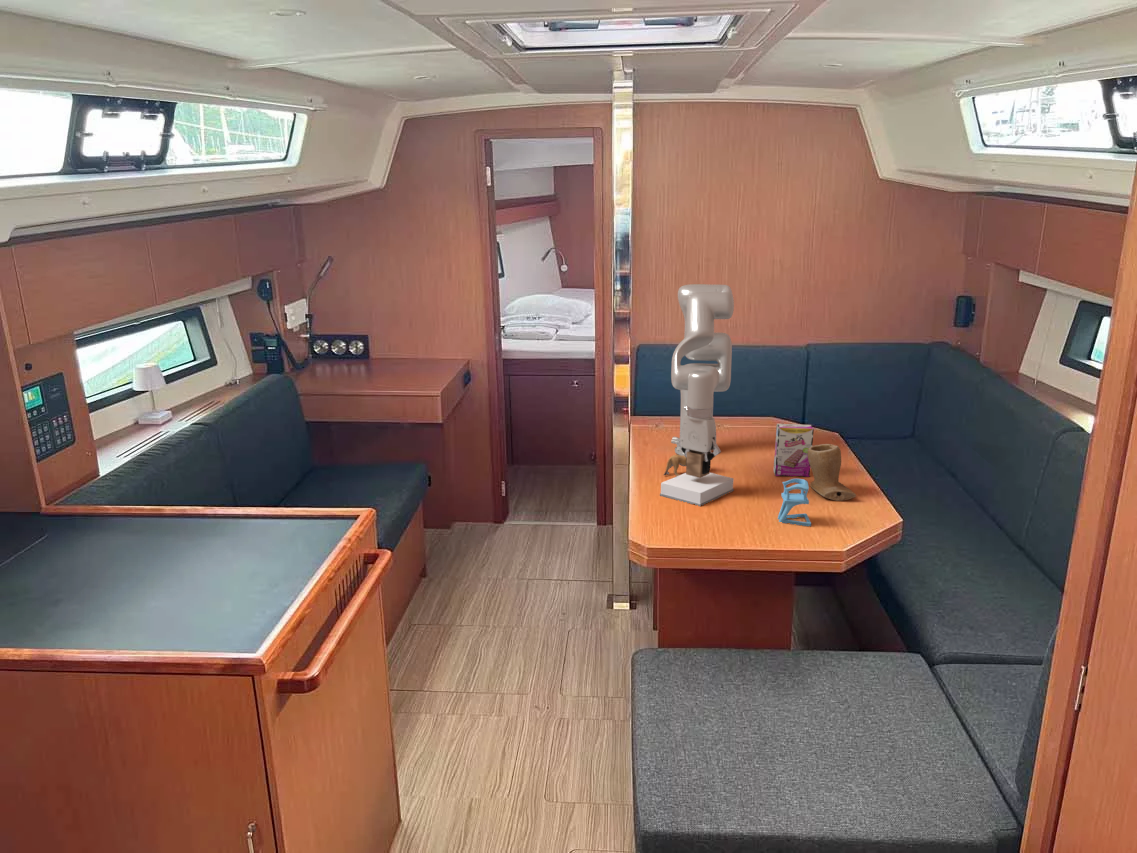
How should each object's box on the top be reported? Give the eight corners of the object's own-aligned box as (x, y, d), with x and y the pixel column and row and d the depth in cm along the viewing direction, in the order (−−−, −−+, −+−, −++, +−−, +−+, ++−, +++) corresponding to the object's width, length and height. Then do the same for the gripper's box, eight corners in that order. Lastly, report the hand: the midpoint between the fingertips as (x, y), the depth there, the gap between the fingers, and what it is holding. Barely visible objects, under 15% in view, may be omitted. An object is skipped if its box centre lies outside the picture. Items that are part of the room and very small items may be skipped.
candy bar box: (775, 476, 275) (778, 427, 270) (773, 472, 280) (775, 423, 275) (810, 477, 274) (814, 428, 269) (808, 472, 278) (811, 424, 274)
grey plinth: (659, 495, 258) (660, 482, 257) (694, 480, 271) (694, 468, 270) (700, 506, 249) (700, 493, 247) (733, 490, 262) (734, 478, 261)
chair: (776, 515, 241) (778, 475, 238) (806, 516, 240) (809, 475, 237) (780, 526, 234) (782, 484, 231) (811, 526, 233) (813, 484, 230)
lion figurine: (698, 468, 283) (699, 442, 281) (707, 473, 278) (708, 446, 276) (659, 474, 277) (660, 448, 275) (667, 479, 273) (668, 452, 270)
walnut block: (686, 474, 258) (686, 452, 256) (695, 470, 262) (696, 448, 260) (700, 477, 255) (700, 455, 253) (709, 473, 258) (710, 451, 257)
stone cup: (799, 486, 265) (802, 440, 261) (837, 485, 266) (840, 439, 262) (816, 503, 251) (820, 454, 247) (856, 502, 252) (860, 453, 248)
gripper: (668, 410, 256) (667, 468, 261) (717, 419, 245) (715, 480, 250) (683, 405, 262) (681, 463, 266) (731, 414, 251) (729, 474, 255)
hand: (697, 470), depth 258 cm, fingers closed on walnut block, 5 cm apart
